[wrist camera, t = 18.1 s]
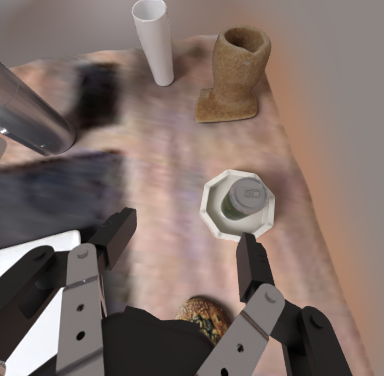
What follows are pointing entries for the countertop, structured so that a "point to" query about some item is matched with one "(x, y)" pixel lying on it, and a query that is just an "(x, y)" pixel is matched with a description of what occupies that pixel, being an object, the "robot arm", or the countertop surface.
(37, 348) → the square plate
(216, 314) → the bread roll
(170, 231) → the countertop surface
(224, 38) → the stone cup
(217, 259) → the countertop surface
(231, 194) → the beer can
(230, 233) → the cream bowl
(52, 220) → the countertop surface
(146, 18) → the drinking glass
